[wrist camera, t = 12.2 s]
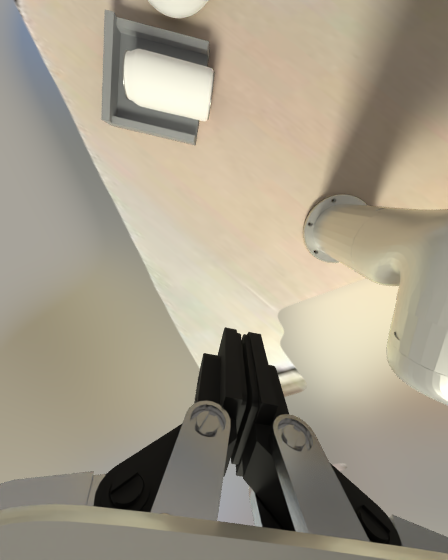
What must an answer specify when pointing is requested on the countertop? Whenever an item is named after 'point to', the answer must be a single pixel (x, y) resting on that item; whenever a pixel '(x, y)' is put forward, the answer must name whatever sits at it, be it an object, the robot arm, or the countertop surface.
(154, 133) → the tray
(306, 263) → the countertop surface
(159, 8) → the flower in vase
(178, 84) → the can
